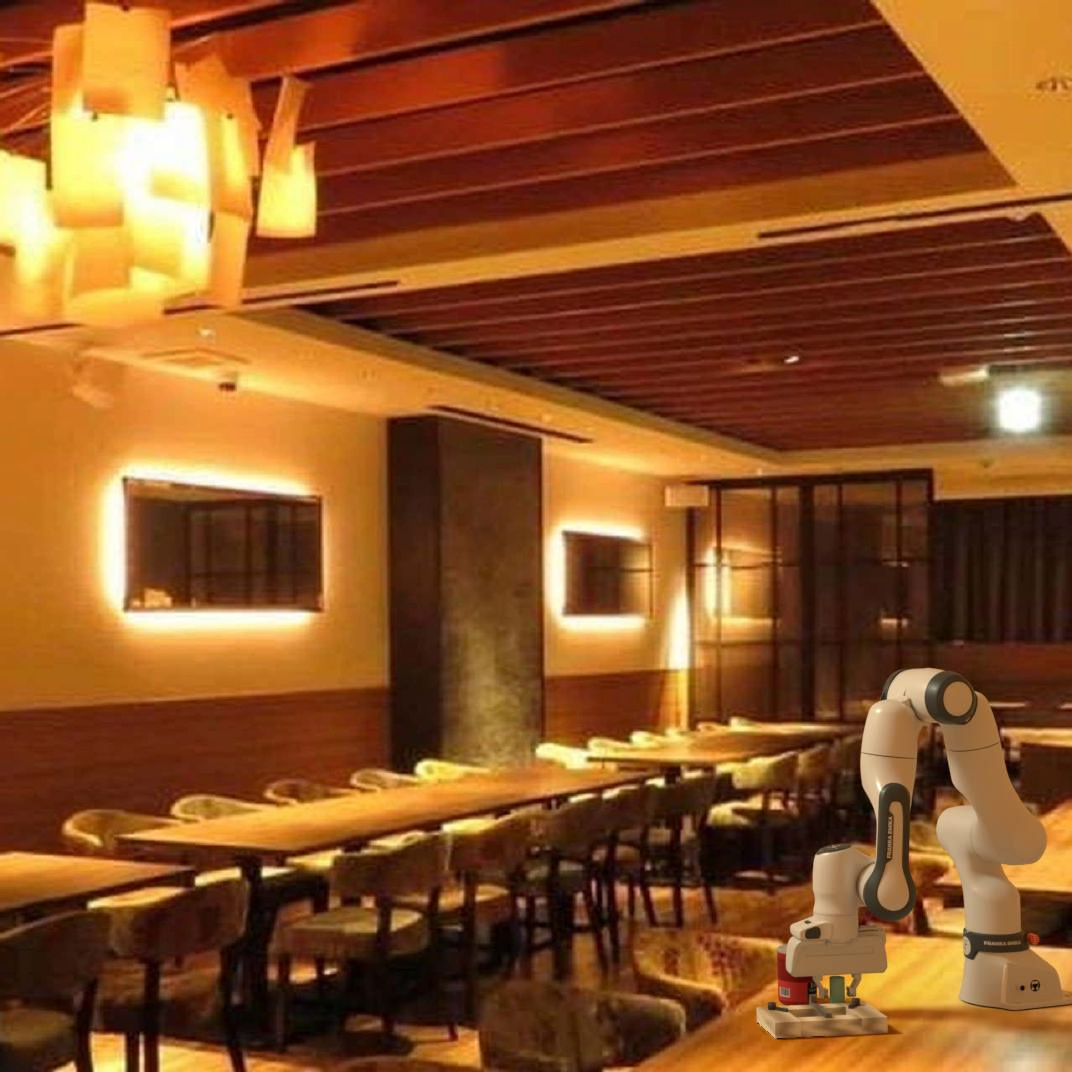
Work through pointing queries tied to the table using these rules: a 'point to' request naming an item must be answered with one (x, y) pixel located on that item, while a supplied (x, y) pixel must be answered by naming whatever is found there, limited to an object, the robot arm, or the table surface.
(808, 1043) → the table surface
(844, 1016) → the shelf
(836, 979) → the pale green rounded block
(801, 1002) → the canned food
